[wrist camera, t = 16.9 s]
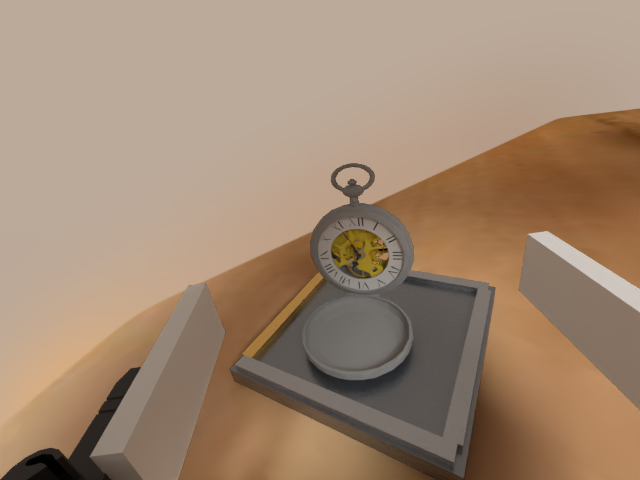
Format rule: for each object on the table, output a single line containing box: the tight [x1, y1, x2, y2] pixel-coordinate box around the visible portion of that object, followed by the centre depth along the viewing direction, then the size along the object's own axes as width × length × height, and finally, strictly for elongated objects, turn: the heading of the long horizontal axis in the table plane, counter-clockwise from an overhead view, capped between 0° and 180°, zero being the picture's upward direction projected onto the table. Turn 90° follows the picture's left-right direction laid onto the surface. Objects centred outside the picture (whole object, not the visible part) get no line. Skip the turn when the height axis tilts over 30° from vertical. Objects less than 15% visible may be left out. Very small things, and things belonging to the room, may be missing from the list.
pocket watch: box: [302, 163, 414, 380], centre depth 18 cm, size 8×8×10 cm
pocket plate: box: [230, 259, 495, 480], centre depth 21 cm, size 13×13×1 cm
